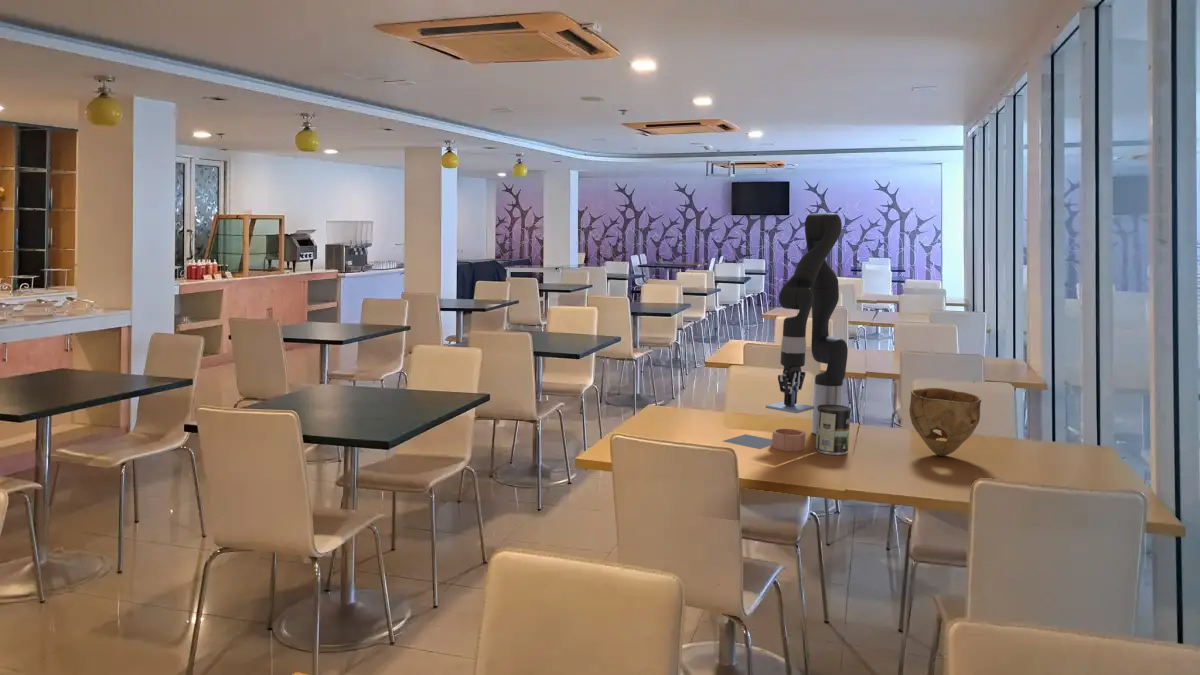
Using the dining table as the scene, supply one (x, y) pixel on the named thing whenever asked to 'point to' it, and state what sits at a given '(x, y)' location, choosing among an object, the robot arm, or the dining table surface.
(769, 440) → the mat
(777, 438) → the faceted pink cup
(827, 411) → the coffee can
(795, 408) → the lid
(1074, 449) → the dining table surface
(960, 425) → the bowl
